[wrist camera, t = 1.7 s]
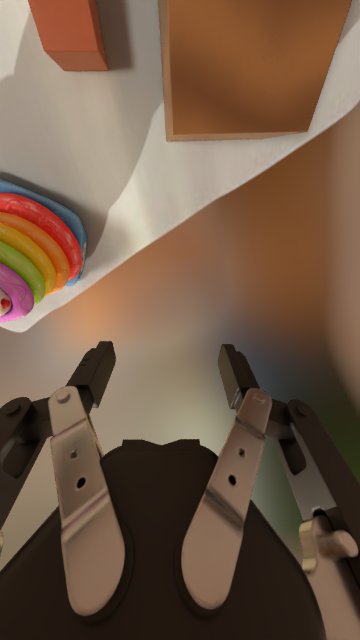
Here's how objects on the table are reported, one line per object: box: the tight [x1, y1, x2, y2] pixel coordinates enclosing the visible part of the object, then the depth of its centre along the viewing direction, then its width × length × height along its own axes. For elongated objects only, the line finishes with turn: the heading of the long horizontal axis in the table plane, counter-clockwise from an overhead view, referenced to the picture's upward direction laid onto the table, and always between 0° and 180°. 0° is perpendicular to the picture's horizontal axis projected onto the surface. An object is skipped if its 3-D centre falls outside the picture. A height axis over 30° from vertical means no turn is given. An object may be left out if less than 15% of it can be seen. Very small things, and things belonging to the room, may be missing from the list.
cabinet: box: [158, 0, 352, 142], centre depth 13 cm, size 15×13×9 cm
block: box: [28, 0, 108, 71], centre depth 14 cm, size 4×4×4 cm
